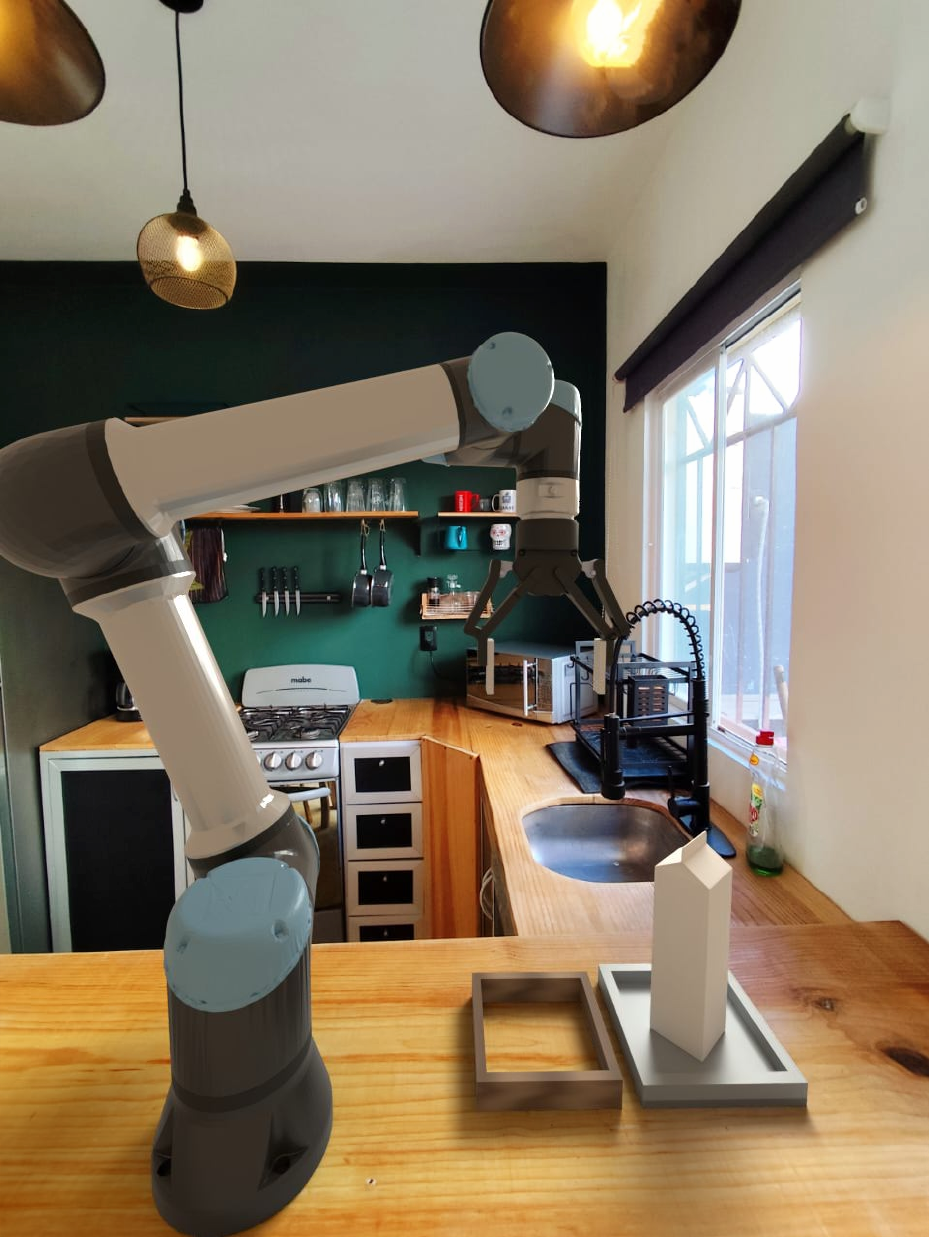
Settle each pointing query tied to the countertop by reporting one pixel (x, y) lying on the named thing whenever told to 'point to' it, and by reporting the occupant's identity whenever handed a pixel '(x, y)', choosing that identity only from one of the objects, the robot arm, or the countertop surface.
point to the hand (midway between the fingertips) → (544, 692)
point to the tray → (672, 1078)
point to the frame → (544, 1085)
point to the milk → (691, 947)
